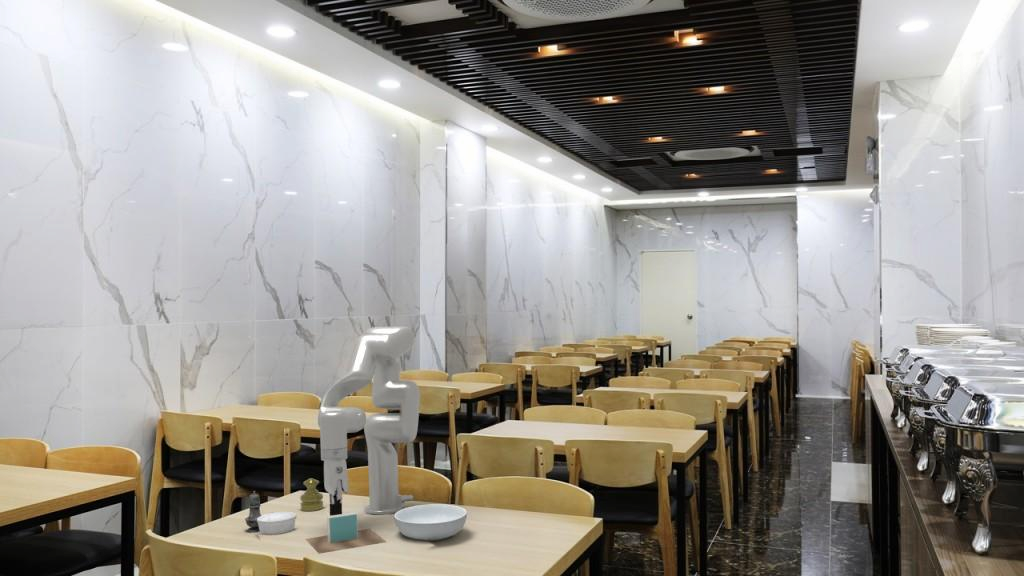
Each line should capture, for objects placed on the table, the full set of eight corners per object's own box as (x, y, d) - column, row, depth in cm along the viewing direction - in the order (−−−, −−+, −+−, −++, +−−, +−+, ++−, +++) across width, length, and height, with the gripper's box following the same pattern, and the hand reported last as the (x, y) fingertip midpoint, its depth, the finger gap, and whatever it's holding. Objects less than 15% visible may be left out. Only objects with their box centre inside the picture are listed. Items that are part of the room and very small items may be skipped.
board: (369, 532, 240) (369, 528, 240) (387, 546, 226) (386, 541, 226) (305, 543, 231) (305, 538, 231) (318, 558, 217) (318, 553, 217)
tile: (355, 536, 232) (355, 512, 232) (357, 538, 230) (357, 513, 230) (327, 541, 228) (327, 516, 228) (329, 543, 226) (329, 517, 226)
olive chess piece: (305, 506, 275) (304, 476, 275) (326, 505, 274) (325, 476, 274) (296, 511, 268) (296, 481, 268) (318, 511, 267) (317, 481, 267)
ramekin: (250, 535, 242) (249, 517, 242) (283, 526, 250) (283, 509, 250) (270, 541, 235) (269, 523, 235) (303, 532, 243) (303, 515, 243)
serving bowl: (410, 552, 220) (409, 526, 220) (385, 533, 238) (384, 510, 238) (479, 539, 229) (478, 515, 230) (450, 522, 248) (449, 500, 248)
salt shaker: (259, 532, 244) (258, 492, 244) (241, 532, 245) (240, 492, 245) (268, 527, 250) (267, 488, 250) (251, 527, 251) (250, 488, 251)
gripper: (354, 456, 231) (355, 521, 230) (340, 448, 244) (342, 509, 244) (327, 459, 227) (329, 525, 227) (315, 451, 241) (317, 513, 240)
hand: (336, 517), depth 235 cm, fingers closed
